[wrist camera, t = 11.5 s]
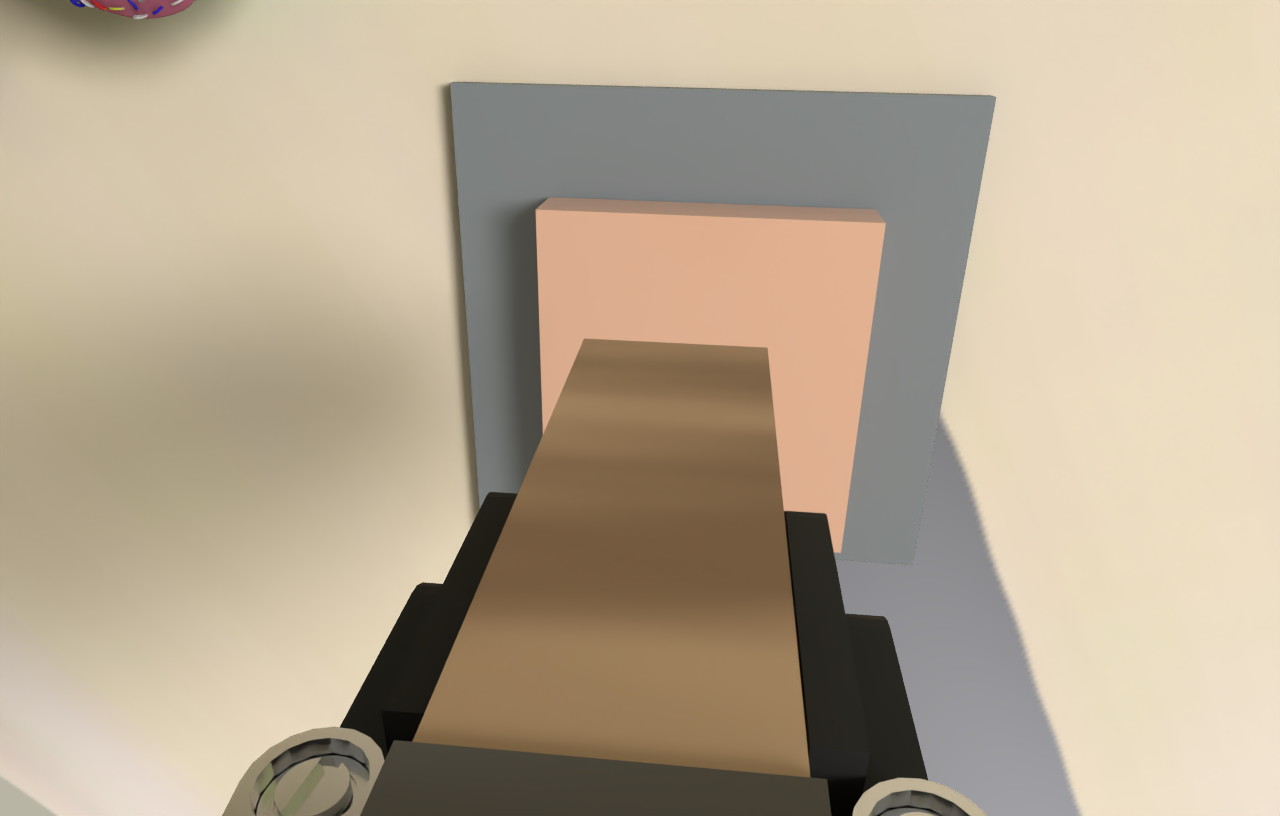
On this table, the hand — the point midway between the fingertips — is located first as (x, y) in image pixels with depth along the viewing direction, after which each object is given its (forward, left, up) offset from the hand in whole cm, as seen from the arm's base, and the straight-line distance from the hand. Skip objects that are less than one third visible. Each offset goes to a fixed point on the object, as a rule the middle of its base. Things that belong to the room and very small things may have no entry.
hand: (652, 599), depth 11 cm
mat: (+3, 0, -18) cm, 18 cm away
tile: (-2, 0, -16) cm, 16 cm away
